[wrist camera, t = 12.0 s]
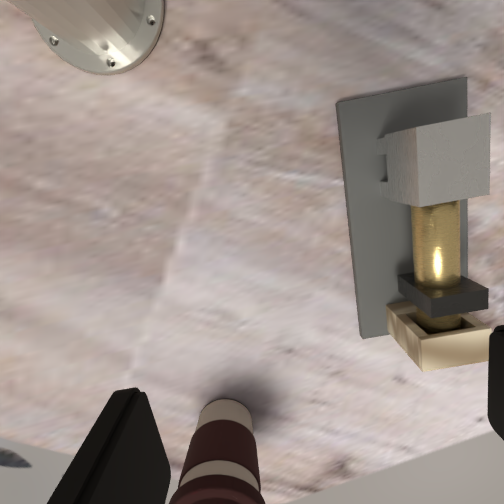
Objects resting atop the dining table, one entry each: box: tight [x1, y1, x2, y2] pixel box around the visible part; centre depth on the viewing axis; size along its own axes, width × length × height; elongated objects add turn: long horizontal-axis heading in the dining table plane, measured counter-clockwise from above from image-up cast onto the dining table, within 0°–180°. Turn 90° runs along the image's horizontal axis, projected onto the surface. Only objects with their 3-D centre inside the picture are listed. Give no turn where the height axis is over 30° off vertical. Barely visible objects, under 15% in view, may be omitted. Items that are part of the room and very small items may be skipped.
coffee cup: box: [169, 399, 265, 504], centre depth 36 cm, size 10×10×15 cm
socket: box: [386, 301, 491, 372], centre depth 34 cm, size 4×7×8 cm, turn 101°
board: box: [336, 77, 468, 339], centre depth 35 cm, size 28×13×1 cm, turn 11°
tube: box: [397, 200, 488, 335], centre depth 31 cm, size 18×5×6 cm, turn 11°
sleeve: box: [377, 113, 491, 207], centre depth 29 cm, size 6×6×8 cm
